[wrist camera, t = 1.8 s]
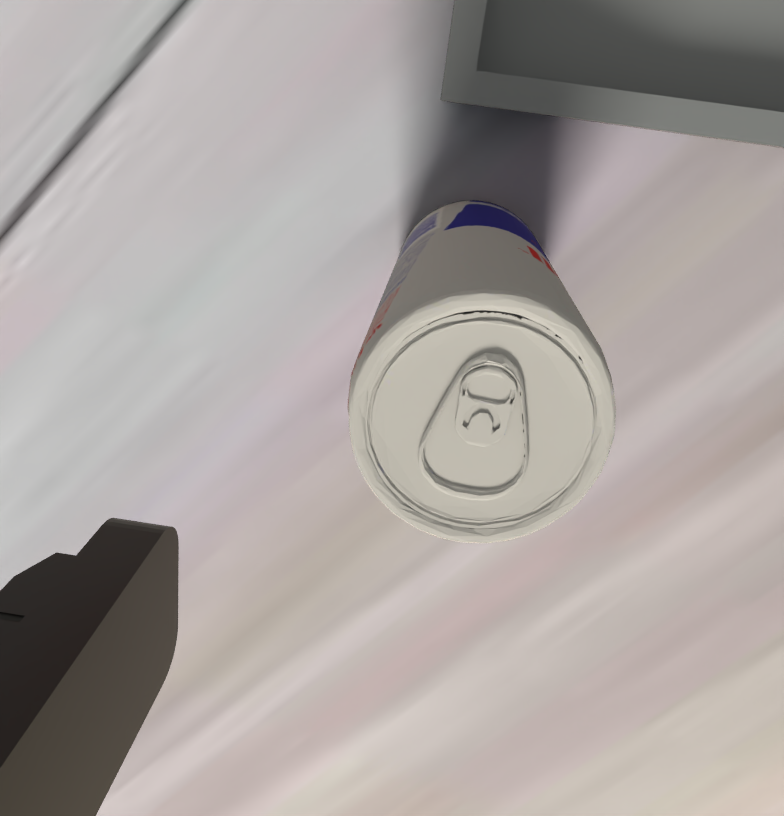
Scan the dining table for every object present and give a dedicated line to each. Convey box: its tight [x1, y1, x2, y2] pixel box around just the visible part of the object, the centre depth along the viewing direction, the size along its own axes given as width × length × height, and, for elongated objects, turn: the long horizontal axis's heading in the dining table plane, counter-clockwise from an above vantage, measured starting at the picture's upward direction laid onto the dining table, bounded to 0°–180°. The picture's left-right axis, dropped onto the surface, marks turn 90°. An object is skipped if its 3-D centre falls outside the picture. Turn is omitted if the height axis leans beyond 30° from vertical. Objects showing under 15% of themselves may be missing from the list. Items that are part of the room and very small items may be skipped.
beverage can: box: [348, 201, 616, 543], centre depth 21 cm, size 6×6×15 cm
